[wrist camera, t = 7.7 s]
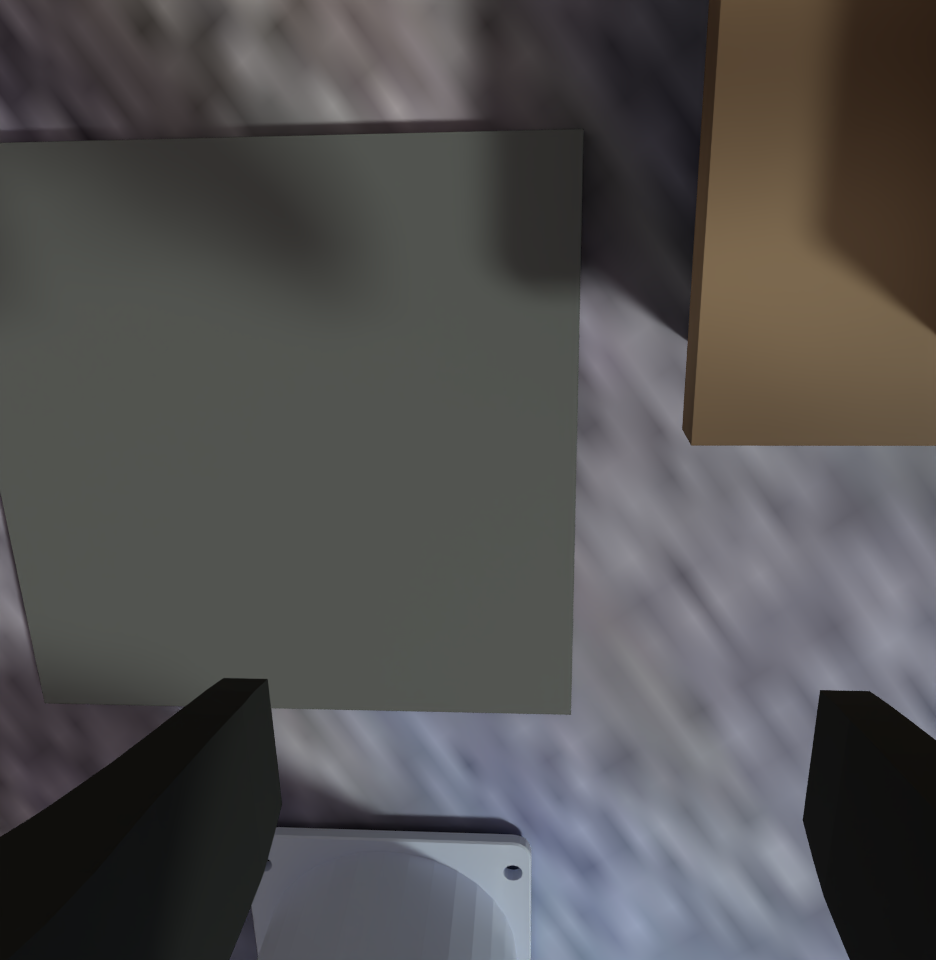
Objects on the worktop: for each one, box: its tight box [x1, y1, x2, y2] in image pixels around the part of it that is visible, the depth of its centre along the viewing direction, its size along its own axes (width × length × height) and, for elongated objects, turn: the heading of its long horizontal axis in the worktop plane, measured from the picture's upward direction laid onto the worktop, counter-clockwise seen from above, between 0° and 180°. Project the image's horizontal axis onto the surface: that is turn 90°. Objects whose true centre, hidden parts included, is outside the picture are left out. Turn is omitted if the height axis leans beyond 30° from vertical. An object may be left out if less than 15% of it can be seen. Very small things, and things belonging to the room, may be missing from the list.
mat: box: [0, 129, 583, 715], centre depth 21 cm, size 14×14×1 cm
